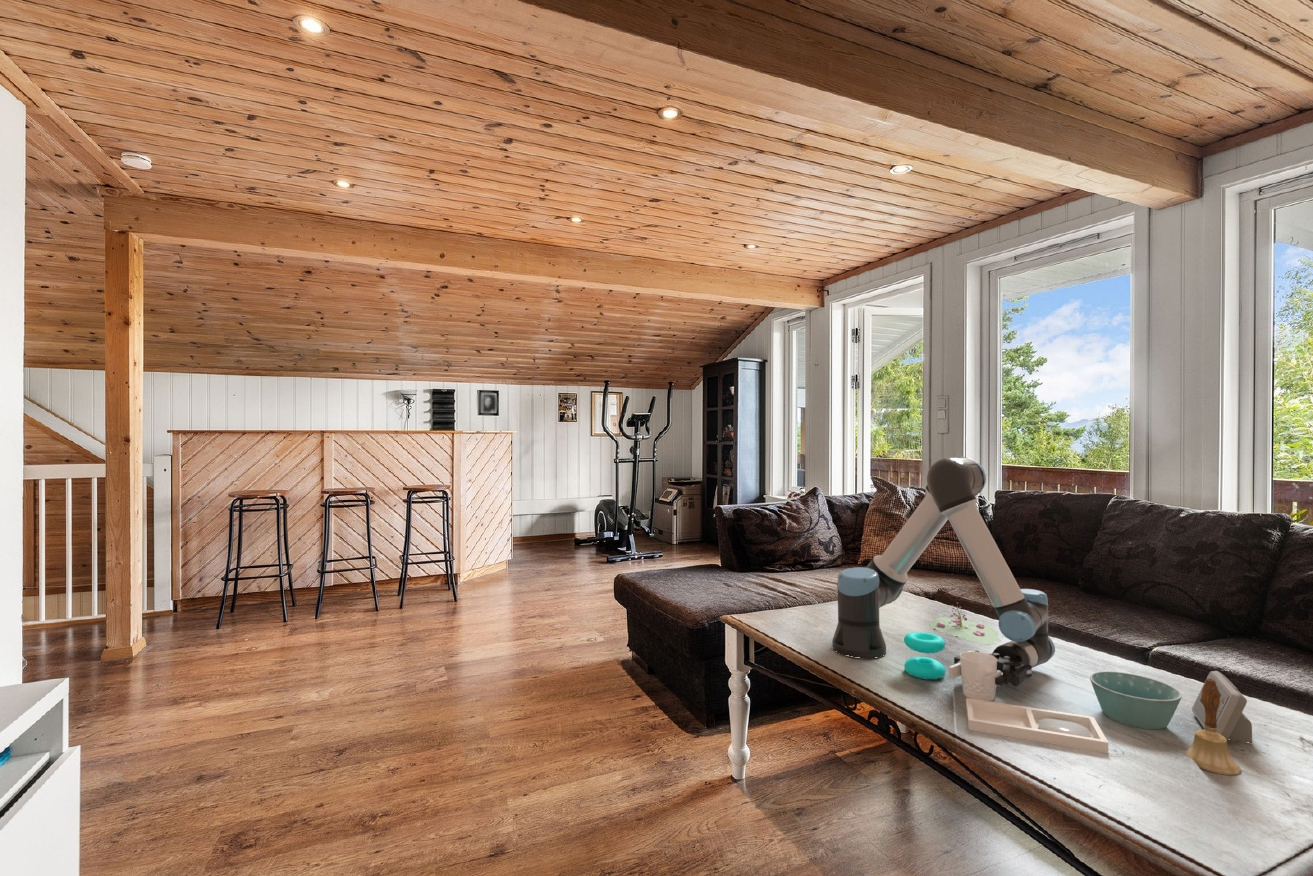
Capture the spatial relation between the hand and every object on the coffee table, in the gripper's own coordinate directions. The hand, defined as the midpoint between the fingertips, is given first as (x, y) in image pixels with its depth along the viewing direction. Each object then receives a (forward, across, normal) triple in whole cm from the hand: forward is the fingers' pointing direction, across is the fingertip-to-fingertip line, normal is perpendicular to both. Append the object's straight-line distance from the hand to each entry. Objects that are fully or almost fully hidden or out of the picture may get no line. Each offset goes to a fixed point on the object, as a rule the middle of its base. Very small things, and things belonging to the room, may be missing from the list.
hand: (967, 678), depth 141 cm
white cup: (-5, 0, -6) cm, 8 cm away
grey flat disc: (0, -20, -5) cm, 21 cm away
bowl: (-20, -26, -6) cm, 33 cm away
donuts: (-9, +16, -6) cm, 20 cm away
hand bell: (-11, -40, -6) cm, 42 cm away
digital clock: (-29, -38, -6) cm, 48 cm away
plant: (-54, +28, -7) cm, 61 cm away
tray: (+3, -15, -6) cm, 16 cm away
